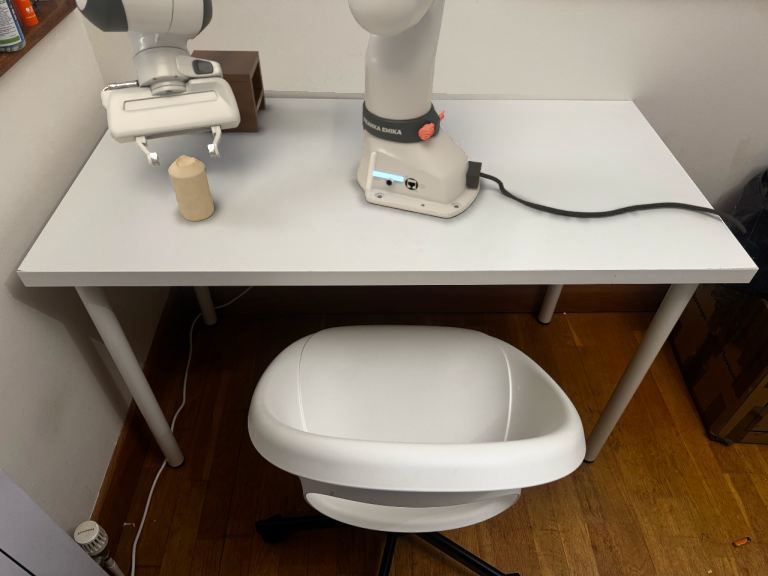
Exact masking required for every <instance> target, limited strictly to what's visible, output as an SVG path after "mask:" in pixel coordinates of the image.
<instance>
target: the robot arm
mask: <svg viewBox="0 0 768 576" xmlns="http://www.w3.org/2000/svg"><path fill="white" fill-rule="evenodd" d="M74 1H75V4H76V8H77V10H78V11H79V13H81V14H82V16H83V17H84V18H85V19H86V20H87V21H88V22H90V23H91V24H92V25H93V26H95V27H96V28H97V29H99V30H100V31H101V32H103V33H127V37H128V38H129V40H130V42H131V44H132V50H133V51H132V60H133V65H134V71H135V74H136V80H135V79H134V80H133V79H132V80H126V81H122V82H111V83H108V84H107V86H105V87H104V88H102V90H101V91H100V94H99V95H100V101H101V106H102V108H103V109H104V110H105V111H106V118H107V127H108V132H109V135H110V136H111V138H112V139H113V140H114V141H115V142H117V143H118V144H128V143H135V142H136V145H137V146H138V148H139V149H140V150H141V152H142V153H143V154H144V155H145V156H146V158H147V162H148V166H149V167H150V168H151V167H159V166H161V163H160V160H159V159H160V158H159V155H158V153H157V152H151V151H150V150H149V149H148V148H147V147H148V146H149V144H148V141H149V140H155V139H156V140H157V139H165V138H170V137H177V136H185V135H193V134H199V133H207V132H208V131H212V132H211V134H212V137H214V139H213V142H212V144H207V149H208V154H209V158H212V159H213V158H218V157H220V151H219V145H220V142H221V139H222V136H223V135H222V132H221V129H228V128H235V127H237V126H238V125H239V123H240V114H239V109H238V106H237V103H236V100H235V97H234V94H233V92H232V89H231V87H230V85H229V84H228V83H227V81H225V80H224V79H223V73H222V69H221V67H220V65H219V63H218V62H215V61H210V60H205V59H199V58H195V57H191V53H190V52H189V51H190V50H189V49H188V41H189V40H194V39H195V38H197V37H198V36H199V35H200V34H201V33H202V32H203V31H204V30H205V29H206V28H207V27H208V26H209V25H210V23H211V21H212V19H213V1H212V0H74ZM347 2H348V8H349V10H350V13H351V15H352V17H353V19H354V20H355V22H356V23H357V24H358V25H359V26H360V27H361V28H362V29H363V30H364V31H365V32H367V33H369V36H368V41H367V45H366V49H365V53H364V100H363V101H362V111H361V112H362V113H361V114H362V115H361V117H362V121H361V122H362V128H363V132H364V134H363V144H362V150H361V157H360V161H359V165H358V168H357V171H356V181H357V183H358V185H359V186H360V187H361V189H362V190H363V191H364V196H365V200H366V201H367V202H368V203H370V204H375V205H379V206H380V205H381V206H384V207H389V208H394V209H398V210H405V211H409V212H412V213H413V212H414V213H419V214H424V215H428V216H433V217H438V218H443V219H444V218H445V219H450V218H453V217H455V216H458V215H460V214H461V213H463V212H464V211H466V210H468V208H469V207H470V206H471V205H472V204H473V203H474V201H475V199H476V198H477V197H478V195H479V192H480V190H481V189H480V188H481V180H480V179H481V178H483V179H487V180H489V181H492V182H494V183H496V184H497V185H498V188H499V190H500V192H501V193H502V194H503V195H505V196H506V197H508V198H509V199H511V200H514V201H516V202H518V203H520V204H522V205H524V206H526V207H529V208H532V209H536V210H541V211H545V212H549V213H553V214H557V215H562V216H569V217H570V216H571V217H581V218H582V217H584V218H585V217H586V218H588V217H589V218H591V217H592V218H596V217H597V218H598V217H607V216H608V217H609V216H613V215H618V214H622V213H626V212H630V211H635V210H644V209H655V208H666V207H667V208H680V209H686V210H692V211H697V212H703V213H707V214H712V215H715V216H719V217H721V218H723V219H726V220H727V221H729V222H731V223H732V224H733V225H734V226H736V227H737V228H738V230H739V231H740V232H741V233H743V234H747V233H748V232H747V229H746V227H745V226H744V225H743V224H742V222H741V221H739V220H738V219H737V218H736V217H734V216H732V215H730V214H729V213H726V212H724V211H721V210H718V209H715V208H711V207H706V206H701V205H694V204H690V203H683V202H671V201H670V202H669V201H668V202H667V201H666V202H665V201H664V202H653V203H643V204H642V203H641V204H634V205H628V206H625V207H621V208H620V207H619V208H615V209H612V210H606V211H573V210H565V209H560V208H557V207H553V206H552V207H551V206H548V205H543V204H539V203H534V202H531V201H527V200H524V199H522V198H519V197H517V196H515V195H514V194H512V193H511V192H510V191H508V190H507V189H506V188H505V185H504V183H503V181H502V180H501V179H500V178H498V177H496V176H494V175H491V174H488V173H485V172H482V168H483V167H482V166H483V162H481V161H480V162H479V161H474V160H473V161H472V160H469V158H468V154H467V152H466V151H465V149H463V148H462V146H460V145H459V144H458V143H457V142H456V141H455V140H454V139H453V138H451V136H450V135H448V133H447V132H445V130H443V129H442V127H441V122H442V120H444V118H445V113H446V111H445V110H442V111H441V112H440V113H439V114H438V112H437V111H436V109H435V106H434V103H433V89H434V78H435V67H436V65H435V64H436V57H437V50H438V45H439V40H440V34H441V30H442V29H441V28H442V22H443V15H444V9H445V2H446V0H347Z"/></svg>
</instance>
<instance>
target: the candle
mask: <svg viewBox="0 0 768 576" xmlns="http://www.w3.org/2000/svg"><path fill="white" fill-rule="evenodd" d="M167 170H168V171H167V172H168V174H169V178H170V183H171V186H172V189H173V192H174V195H175V199H176V202H177V205H178V209H179V212H180V214H181V217H182V218H183V219H184V220H187V221H190V222H200V221H203V220H206V219H209V218H210V217H211V216H212V215H213V214H214V212H215V205H214V200H213V196H212V192H211V188H210V187H211V186H210V183H209V180H208V175H207V172H206V171H207V170H206V166H205V164H204V162H203V161H202V160H200V159H198V158H195V157H191V156H188V155H186V154H183V155H180V156H178V157H177V159H176V160H175V161H173V162H172V163H171V165H169V167H168V169H167Z"/></svg>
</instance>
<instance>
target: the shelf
mask: <svg viewBox="0 0 768 576" xmlns="http://www.w3.org/2000/svg"><path fill="white" fill-rule="evenodd" d="M190 56H191V57H195V58H199V59H205V60H210V61H215V62H218V63H219V65H220V67H221V69H222V73H223V79H224V80H225V81H227V83H228V84H229V85H230V87H231V89H232V92H233V94H234V97H235V100H236V103H237V106H238V109H239V114H240V123H239V125H238V126H237V127H235V128H228V129H221V133H222V132H223V133H259V131H260V125H259V120H258V112H259V110H266V109H267V101H266V96H265V89H264V82H263V75H262V66H261V60H260V52H259V50H208V49H206V50H203V49H194V50H193V51H192V53H190ZM207 132H210V133H212V131H207Z"/></svg>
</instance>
